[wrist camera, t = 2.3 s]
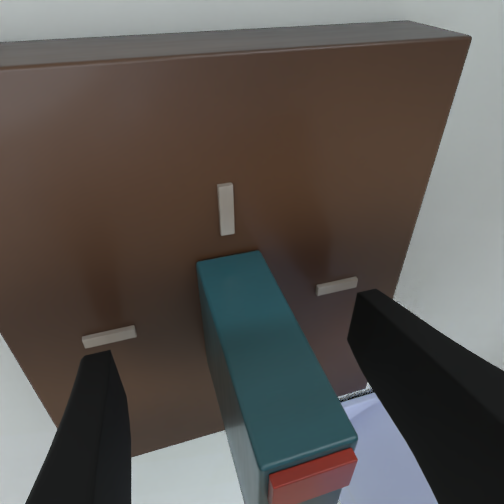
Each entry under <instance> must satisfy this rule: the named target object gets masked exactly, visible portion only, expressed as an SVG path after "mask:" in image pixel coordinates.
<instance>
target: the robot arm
mask: <svg viewBox="0 0 504 504" xmlns="http://www.w3.org/2000/svg"><path fill="white" fill-rule="evenodd" d="M347 341H348V344H349V346H350V348H351V350H352V352H353V355H354V357H355V359H356V361H357V363H358V365H359V367H360V369H361V371H362V373H363V375H364V376H365V378H366V379H367V381H368V383H369V384H370V386H371V387H372V389H373V391H374V393H371V394H367V395H364V396H361V397H357V398H354V399H351V400H347V401H344V402H341V405H342V406H343V408H344V410H345V412H346V414H347V416H348V418H349V420H350V421H351V423H352V425H353V427H354V429H355V431H356V433H357V435H358V442H357V445H356V448H355V451H354V453H355V455H356V457H357V459H358V461H357V464H356V467H355V470H354V473H353V476H352V478H351V481H350V484H349V486H346V487H343V488H342V490H341V493H340V496H339V500H340V503H341V504H504V371H503V370H501V369H499V368H498V367H496V366H494V365H492V364H491V363H489V362H487V361H486V360H484V359H482V358H481V357H479V356H477V355H476V354H474V353H472V352H471V351H469V350H467V349H466V348H464V347H462V346H461V345H459V344H458V343H456V342H455V341H453V340H451V339H450V338H448V337H447V336H445V335H444V334H442V333H441V332H439V331H438V330H436V329H435V328H433V327H432V326H430V325H429V324H427V323H426V322H424V321H423V320H421V319H420V318H419V317H417V316H416V315H414V314H413V313H411V312H410V311H408V310H407V309H406V308H404V307H403V306H401V305H400V304H398V303H397V302H395V301H394V300H393V299H391V298H390V297H388V296H387V295H385V294H384V293H382V292H381V291H379V290H378V289H371V290H367V291H363V292H358V293H357V296H356V300H355V305H354V309H353V314H352V318H351V323H350V327H349V332H348V336H347ZM25 504H131V431H130V421H129V412H128V403H127V396H126V393H125V390H124V387H123V384H122V381H121V379H120V376H119V373H118V370H117V367H116V364H115V361H114V359H113V356H112V353H111V350H107V351H102V352H98V353H94V354H89V355H85V356H84V357H83V358H82V359H81V361H80V365H79V368H78V372H77V375H76V379H75V382H74V385H73V388H72V391H71V394H70V397H69V400H68V403H67V406H66V408H65V411H64V414H63V417H62V419H61V422H60V424H59V427H58V429H57V432H56V434H55V437H54V440H53V442H52V445H51V447H50V450H49V452H48V454H47V457H46V459H45V461H44V463H43V466H42V468H41V470H40V472H39V474H38V477H37V479H36V481H35V483H34V486H33V488H32V490H31V492H30V494H29V497H28V499H27V501H26V503H25Z"/></svg>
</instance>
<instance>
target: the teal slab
mask: <svg viewBox="0 0 504 504" xmlns="http://www.w3.org/2000/svg"><path fill="white" fill-rule="evenodd" d="M196 270H197V279H198V287H199V296H200V305H201V313H202V322H203V331H204V339H205V348H206V356H207V362H208V366H209V370H210V374H211V378H212V381H213V385H214V389H215V393H216V397H217V401H218V404H219V408H220V412H221V416H222V420H223V423H224V427H225V431H226V435H227V439H228V443H229V446H230V450H231V454H232V458H233V462H234V465H235V469H236V473H237V477H238V481H239V484H240V488H241V492H242V496H243V500H244V504H337V502H338V499H339V496H340V493H341V490H342V488H343V487H346V486H349V484H350V481H351V478H352V476H353V473H354V470H355V467H356V464H357V461H358V459H357V457H356V455H355V453H354V451H355V448H356V445H357V442H358V435H357V433H356V431H355V429H354V427H353V425H352V423H351V421H350V420H349V418H348V416H347V414H346V412H345V410H344V408H343V406H342V405H341V403H340V401H339V399H338V397H337V395H336V393H335V391H334V389H333V388H332V386H331V384H330V382H329V380H328V378H327V376H326V374H325V372H324V371H323V369H322V367H321V365H320V363H319V361H318V359H317V357H316V355H315V354H314V352H313V350H312V348H311V346H310V344H309V342H308V340H307V339H306V337H305V335H304V333H303V331H302V329H301V327H300V325H299V323H298V322H297V320H296V318H295V316H294V314H293V312H292V310H291V308H290V306H289V305H288V303H287V301H286V299H285V297H284V295H283V293H282V291H281V289H280V288H279V286H278V284H277V282H276V280H275V278H274V276H273V274H272V273H271V271H270V269H269V267H268V265H267V263H266V261H265V259H264V257H263V256H262V254H261V252H260V251H259V250H255V251H250V252H245V253H240V254H234V255H229V256H224V257H218V258H213V259H208V260H203V261H198V262H197V264H196Z"/></svg>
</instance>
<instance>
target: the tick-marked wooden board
mask: <svg viewBox="0 0 504 504" xmlns="http://www.w3.org/2000/svg"><path fill="white" fill-rule="evenodd" d="M471 40H472V37H471V36H469V35H466V34H462V33H458V32H454V31H449V30H445V29H441V28H437V27H433V26H429V25H424V24H420V23H416V22H412V21H393V22H374V23H355V24H336V25H317V26H298V27H279V28H261V29H242V30H223V31H204V32H185V33H166V34H148V35H129V36H110V37H91V38H72V39H53V40H34V41H16V42H0V333H1V335H2V337H3V338H4V340H5V342H6V343H7V345H8V347H9V348H10V350H11V352H12V353H13V355H14V357H15V358H16V360H17V362H18V363H19V365H20V367H21V368H22V370H23V372H24V373H25V375H26V377H27V379H28V380H29V382H30V384H31V385H32V387H33V389H34V390H35V392H36V394H37V395H38V397H39V399H40V400H41V402H42V404H43V405H44V407H45V409H46V410H47V412H48V414H49V416H50V417H51V419H52V421H53V422H54V424H55V426H56V427H57V429H58V427H59V424H60V422H61V419H62V417H63V414H64V411H65V408H66V406H67V403H68V400H69V397H70V394H71V391H72V388H73V385H74V382H75V379H76V375H77V372H78V368H79V365H80V361H81V359H82V358H83V357H84V356H85V355H89V354H94V353H98V352H102V351H107V350H111V353H112V356H113V359H114V361H115V364H116V367H117V370H118V373H119V376H120V379H121V381H122V384H123V387H124V390H125V393H126V396H127V403H128V412H129V421H130V431H131V457H135V456H138V455H141V454H145V453H148V452H152V451H155V450H158V449H162V448H165V447H168V446H172V445H175V444H179V443H182V442H185V441H189V440H192V439H196V438H199V437H202V436H206V435H209V434H213V433H216V432H219V431H223V430H225V427H224V423H223V420H222V416H221V412H220V408H219V404H218V401H217V397H216V393H215V389H214V385H213V381H212V378H211V374H210V370H209V366H208V362H207V356H206V348H205V339H204V331H203V322H202V313H201V305H200V296H199V287H198V279H197V270H196V264H197V262H198V261H203V260H208V259H213V258H218V257H224V256H229V255H234V254H240V253H245V252H250V251H255V250H259V251H260V252H261V254H262V256H263V257H264V259H265V261H266V263H267V265H268V267H269V269H270V271H271V273H272V274H273V276H274V278H275V280H276V282H277V284H278V286H279V288H280V289H281V291H282V293H283V295H284V297H285V299H286V301H287V303H288V305H289V306H290V308H291V310H292V312H293V314H294V316H295V318H296V320H297V322H298V323H299V325H300V327H301V329H302V331H303V333H304V335H305V337H306V339H307V340H308V342H309V344H310V346H311V348H312V350H313V352H314V354H315V355H316V357H317V359H318V361H319V363H320V365H321V367H322V369H323V371H324V372H325V374H326V376H327V378H328V380H329V382H330V384H331V386H332V388H333V389H334V391H335V393H336V395H337V397H338V396H341V395H345V394H348V393H352V392H355V391H358V390H362V389H365V388H366V385H367V382H368V381H367V379H366V378H365V376H364V375H363V373H362V371H361V369H360V367H359V365H358V363H357V361H356V359H355V357H354V355H353V352H352V350H351V348H350V346H349V344H348V341H347V336H348V332H349V327H350V323H351V318H352V314H353V309H354V305H355V300H356V296H357V293H358V292H363V291H367V290H371V289H378V290H379V291H381V292H382V293H384V294H385V295H387V296H388V297H390V298H391V299H393V296H394V293H395V290H396V286H397V283H398V280H399V276H400V273H401V270H402V267H403V263H404V260H405V257H406V253H407V250H408V247H409V244H410V240H411V237H412V234H413V230H414V227H415V224H416V221H417V217H418V214H419V211H420V208H421V204H422V201H423V198H424V194H425V191H426V188H427V185H428V181H429V178H430V175H431V171H432V168H433V165H434V162H435V158H436V155H437V152H438V148H439V145H440V142H441V139H442V135H443V132H444V129H445V125H446V122H447V119H448V116H449V112H450V109H451V106H452V102H453V99H454V96H455V93H456V89H457V86H458V83H459V79H460V76H461V73H462V70H463V66H464V63H465V60H466V56H467V53H468V50H469V47H470V43H471Z"/></svg>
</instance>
